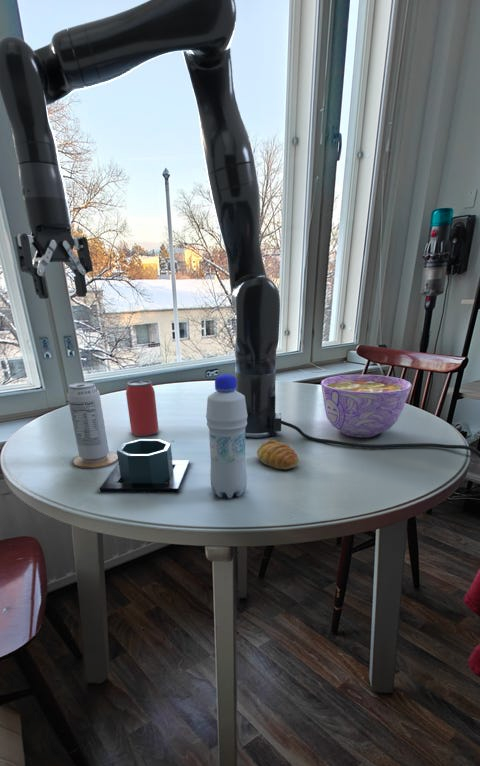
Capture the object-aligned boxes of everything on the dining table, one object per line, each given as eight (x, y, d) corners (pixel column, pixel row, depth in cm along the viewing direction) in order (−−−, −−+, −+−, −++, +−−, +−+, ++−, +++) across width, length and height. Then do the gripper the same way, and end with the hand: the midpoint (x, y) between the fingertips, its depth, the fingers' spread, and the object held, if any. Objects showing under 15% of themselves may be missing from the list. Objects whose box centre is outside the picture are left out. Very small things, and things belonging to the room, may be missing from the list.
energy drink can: (114, 454, 97) (103, 382, 90) (101, 464, 92) (87, 388, 85) (89, 452, 98) (76, 381, 91) (74, 462, 93) (59, 387, 86)
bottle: (209, 486, 83) (203, 371, 73) (246, 484, 83) (245, 369, 73) (210, 502, 77) (204, 379, 67) (250, 500, 77) (249, 378, 68)
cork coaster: (123, 453, 99) (122, 451, 99) (111, 468, 91) (110, 466, 91) (82, 453, 99) (82, 451, 99) (66, 468, 92) (66, 466, 91)
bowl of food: (308, 440, 104) (311, 388, 99) (327, 418, 120) (331, 372, 115) (399, 450, 98) (408, 395, 92) (407, 424, 114) (414, 376, 108)
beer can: (161, 429, 114) (156, 379, 108) (154, 437, 108) (149, 385, 103) (136, 428, 115) (129, 379, 109) (128, 436, 109) (120, 385, 103)
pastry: (307, 467, 90) (308, 448, 88) (279, 474, 87) (279, 455, 85) (279, 453, 97) (279, 436, 95) (252, 460, 94) (252, 442, 92)
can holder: (189, 464, 93) (187, 435, 90) (178, 492, 80) (175, 460, 77) (121, 463, 93) (117, 435, 90) (100, 492, 81) (94, 460, 78)
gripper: (19, 190, 76) (41, 299, 84) (90, 199, 86) (104, 296, 93) (-4, 195, 80) (19, 299, 88) (67, 203, 90) (82, 296, 98)
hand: (63, 297), depth 91 cm, fingers open, 8 cm apart
